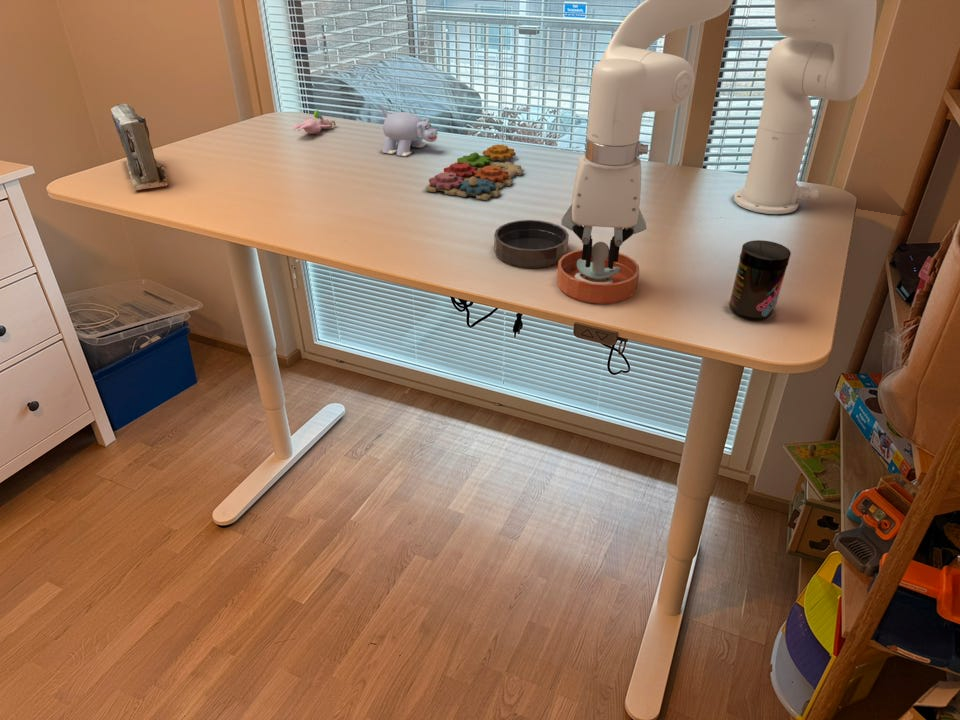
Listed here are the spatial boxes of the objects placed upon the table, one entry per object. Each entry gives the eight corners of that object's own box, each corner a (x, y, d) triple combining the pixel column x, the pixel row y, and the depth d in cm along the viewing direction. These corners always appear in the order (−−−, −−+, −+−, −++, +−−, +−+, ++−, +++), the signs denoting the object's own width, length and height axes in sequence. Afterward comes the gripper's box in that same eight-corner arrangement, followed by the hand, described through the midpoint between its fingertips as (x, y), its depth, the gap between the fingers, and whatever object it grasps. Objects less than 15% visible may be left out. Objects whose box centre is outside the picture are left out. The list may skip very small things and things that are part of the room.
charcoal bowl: (568, 239, 128) (569, 222, 126) (565, 271, 118) (567, 252, 116) (499, 235, 130) (499, 218, 128) (490, 266, 119) (490, 247, 117)
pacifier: (610, 293, 110) (622, 277, 114) (613, 258, 106) (626, 242, 110) (567, 283, 113) (581, 267, 117) (569, 248, 109) (583, 233, 113)
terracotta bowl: (634, 269, 118) (637, 251, 116) (638, 307, 108) (641, 287, 106) (558, 265, 120) (560, 246, 118) (554, 301, 109) (556, 281, 107)
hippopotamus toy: (425, 160, 166) (424, 119, 160) (372, 151, 171) (368, 112, 165) (446, 147, 174) (445, 108, 168) (394, 140, 179) (392, 101, 174)
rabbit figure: (322, 130, 191) (286, 135, 178) (321, 107, 188) (285, 110, 176) (340, 133, 189) (305, 138, 176) (340, 110, 186) (304, 113, 174)
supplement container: (746, 326, 103) (763, 263, 97) (718, 305, 108) (732, 244, 102) (783, 318, 105) (801, 255, 99) (753, 297, 110) (769, 237, 104)
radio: (126, 161, 165) (107, 96, 156) (164, 157, 167) (148, 92, 159) (125, 194, 147) (104, 123, 138) (168, 189, 150) (150, 118, 141)
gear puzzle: (478, 150, 172) (478, 133, 170) (540, 158, 167) (541, 141, 165) (422, 192, 148) (421, 173, 146) (492, 203, 143) (492, 183, 141)
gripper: (666, 145, 103) (649, 257, 114) (556, 141, 105) (549, 251, 116) (670, 162, 97) (652, 278, 108) (554, 156, 99) (547, 271, 109)
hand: (599, 263), depth 111 cm, fingers closed on pacifier, 3 cm apart
